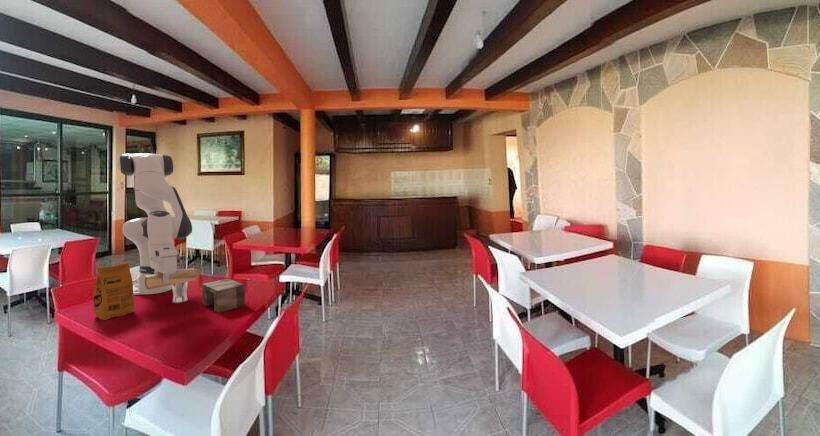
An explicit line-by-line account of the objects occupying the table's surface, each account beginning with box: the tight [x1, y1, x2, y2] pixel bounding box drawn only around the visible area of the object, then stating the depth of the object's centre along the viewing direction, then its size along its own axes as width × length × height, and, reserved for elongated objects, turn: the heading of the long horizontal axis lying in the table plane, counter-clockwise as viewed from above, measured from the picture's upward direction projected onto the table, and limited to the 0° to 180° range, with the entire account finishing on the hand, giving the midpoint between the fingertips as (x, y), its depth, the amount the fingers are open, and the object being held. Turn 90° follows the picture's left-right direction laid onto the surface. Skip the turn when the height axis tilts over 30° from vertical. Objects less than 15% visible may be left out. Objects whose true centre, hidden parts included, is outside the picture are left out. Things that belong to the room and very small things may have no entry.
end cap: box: [201, 278, 246, 314], centre depth 161 cm, size 16×12×10 cm
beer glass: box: [171, 268, 189, 304], centre depth 164 cm, size 7×7×15 cm
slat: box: [144, 267, 197, 289], centre depth 148 cm, size 4×18×5 cm, turn 144°
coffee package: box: [93, 262, 135, 321], centre depth 146 cm, size 10×12×22 cm
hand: (163, 281), depth 146 cm, fingers closed on slat, 4 cm apart
